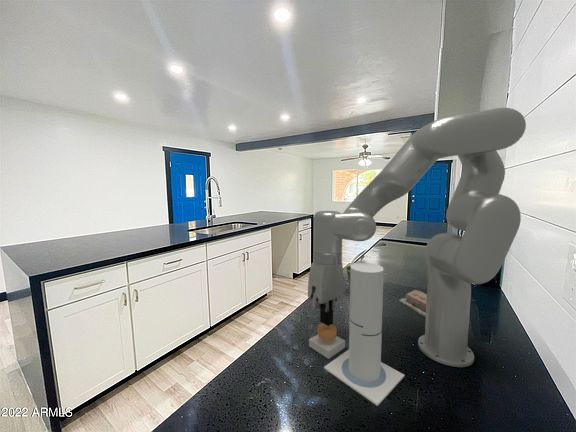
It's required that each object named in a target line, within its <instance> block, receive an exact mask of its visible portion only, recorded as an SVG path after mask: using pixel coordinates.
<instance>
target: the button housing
mask: <svg viewBox="0 0 576 432" xmlns="http://www.w3.org/2000/svg"><path fill="white" fill-rule="evenodd" d="M308 347H310V349H313V350H314V351H315V352H317V353H319V354H320V355H322V356H323V357H324V358H327V359H328V360H329V359H331V358H332V357H334V356H335V355H336V354H338V353H339V352H341V351H343V350H344V349H345V348H346V340H345V339H343V338H341V337H340V336H336V338H335V339H333V340H324V339H321V338H320V337H319V336H318V334H317V333H316V335H314V336H312V337H311V338H309V339H308Z"/></svg>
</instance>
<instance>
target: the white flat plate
mask: <svg viewBox="0 0 576 432" xmlns="http://www.w3.org/2000/svg"><path fill="white" fill-rule="evenodd" d="M323 370H326V372H327V373H329V374H331V375H333V376H334V377H335V378H337V379H338V380H339V381H341V382H343V384H345V385H347V386H348V387H350V388H351V389H352V390H353V391H355V392H356V393H358V394H359V395H361V396H362V397H364V398H365V399H366V400H368V401H370V402H371V403H372V404H373V405H375V406H377V407H378V406H380V404H381V403H382V402H383V401H384V400H385V399H386V398H387V397H388V395H389V394H390V393H391V392H392V391H393V390H394V389H395V388H396V387H397V386H398V385H399V383H400V382H401V381H402V380H403V379H404V378H405V374H404V373H402V372H400V371H398V370H396V369H395V368H393V367H392V366H389V365H387V364H385V363H384V362H382V361H381V370H380V377H379V379H378V380H376V381H373V382H365V381H361V380H358V379H357V378H355V377H354V376H353V375H352V374H351V373H350V371H349V349H347V350H345V352H343V353H341V354H340V355H338V356H337V357H335V358H334V359H333V360H331V361H330V362H329V363H327V364H326V365H324V366H323Z"/></svg>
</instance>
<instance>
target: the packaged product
mask: <svg viewBox="0 0 576 432" xmlns="http://www.w3.org/2000/svg"><path fill="white" fill-rule="evenodd" d="M404 296H405V297H403V298H399V299H398V301H399V302H400V303H401V302H402V303H401V304H404V305H406V306H407V307H408V308H410V309H411V310H413V311H414V312H416V313H418V314H420V315H422V316H423V317H424V318H426V300H427V293H425V292H423V291H421V290H419V289H418V290H417V289H413V290H411V291H410V292H407V293H406V294H405V295H404Z"/></svg>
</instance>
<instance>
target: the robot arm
mask: <svg viewBox="0 0 576 432" xmlns="http://www.w3.org/2000/svg"><path fill="white" fill-rule="evenodd" d="M526 123H527V122H526V119H525V117H524V115H523V114H522V113H521V112H519V110H517V109H514V108H510V107H496V108H490V109H486V110H481V111H474V112H468V113H467V112H466V113H462V114H457V115H451V116H445V117H442V118H437V119H436V120H433V121H432V122H430V123H428V124H426V125H424V126H422V127H420V128H419V129H418V130H416V131H415V132H413V134H411V136H410V137H409V138H408V139H407V140H406V141H405V143H404V144H403V145H402V146H401V148H400V149H399V150H398V151H397V152H396V153H395V155H394V156H393V157H392V158H391V160H390V161H389V162H387V164H386V165H385V166H384V167H383V168H382V170H381V171H380V172H379V173H378V174H377V175H375V177H374V178H373V179H372V180H371V181H370V183H368V184H367V185H366V186H365V188H363V190H362V191H360V193H359V194H358V195H357V196H356V197H355V198H354V199H353V201H351V203H350V204H349V205H348V207H346V209H345V210H344V211H343V212H342V213H341V212H340V211H335V210H320V211H317V212H315V213H314V215H313V240H312V241H313V244H312V245H313V247H312V248H313V253H312V255H313V256H312V257H313V258H312V263H311V265H310V268H309V273H308V282H307V299H308V300H311V307H312V308H314V309H319V310H320V311H319V312H320V313H319V318H320V319H319V321H320V324H321V323H323V324H325V325H327V326H330V325H332V324H333V323H334V310H335V307H336V302H337V301H338V300H339V299H340V298H341V297H342V295H343V293H344V289H345V287H344V286H345V285H344V284H345V282H344V281H345V279H344V268H343V267H344V266H343V240H347V241H352V242H365V241H369V240H370V239H371V238H372V237H373V236H374V235H376V234H375V233H376V231H377V224H376V223H377V222H376V220H375V218H374V217H375V216H376V215H377V214H378V213H379V212H380V211H381V210H382V209H383V208H384V207H385V206H387V205H388V204H390V203H392V202H393V201H396V200H398V199H400V198H402V197H403V196H405V195H407V194H408V193H409V192H410V191H411V190H412V189H413V188H414V186H416V185H417V184H418V182H419V181H420V180H421V179H422V178H423V177H424V175H426V173H427V172H428V171H429V169H431V168H432V166H433V165H434V164H435V163H436V162H437V161H438V160H439V159H440V160H441V159H445V158H448V157H455V156H456V157H458V159H459V161H460V164H461V175H460V178H459V181H458V184H457V186H456V188H455V191H454V193H453V196H452V198H451V200H450V202H449V204H448V207H447V210H446V214H445V217H446V222H447V223H448V224H449V226H451V227H453V229H454V228H455V229H457V230H459V231H463V235H460V234H459V235H458V234H455V233H450V232H449V233H448V232H444V233H443V232H442V233H437V234H436V235H433V237H431V238H430V239H429V240H428V242H427V244H426V247H425V251H424V252H425V253H424V254H425V262H426V263H425V264H426V273H427V274H426V275H427V282H426V283H427V286H426V287H427V288H426V294H427V300H426V317H425V320H424V321H425V323H424V326H425V328H424V334H423V335H421V336H419V338H418V339H417V346H418V349H419V350H420V351H421V352H422V353H423V354H424V355H425V356H427V357H428V358H429V359H431V360H433V361H435V362H437V363H440V364H442V365H444V366H450V367H455V368H465V367H469V366H471V365H473V363H475V355H474V352H473V351H472V349H471V348H470V347H469V346H468V341H469V328H470V327H469V325H470V313H471V312H470V311H471V299H472V285H483V284H485V283H488V282H489V281H491V280H492V279H494V278H495V276H496V275H497V274H499V271H500V269H502V268H501V267H502V266H503V264H504V262H505V260H506V257H507V255H508V253H509V252H510V248H511V246H512V244H513V242H514V241H515V238H516V236H517V234H518V231H519V229H520V226H521V220H522V219H521V218H522V216H521V210H520V207H519V205H518V204H517V203H516V201H515V200H513V199H512V198H511V197H509V196H506V195H503V194H500V191H501V189H502V186H503V183H504V180H505V176H506V169H505V165H504V162H503V160H502V157H501V156H500V154H499V152H498V151H500V150H504V149H507V148H509V147H512V146H513V145H515V144H517V142H518V141H520V140H521V138H522V137H523V135H524V134H525V131H526V127H527V124H526Z"/></svg>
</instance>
